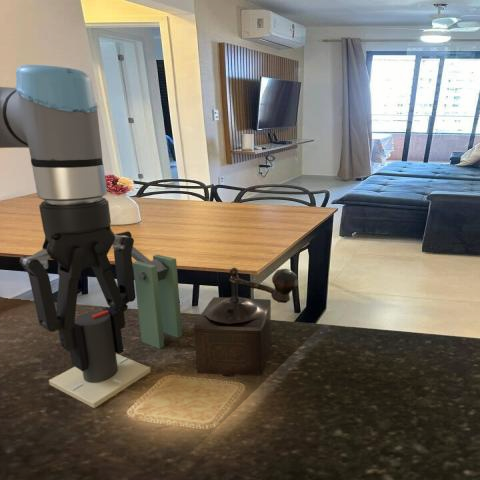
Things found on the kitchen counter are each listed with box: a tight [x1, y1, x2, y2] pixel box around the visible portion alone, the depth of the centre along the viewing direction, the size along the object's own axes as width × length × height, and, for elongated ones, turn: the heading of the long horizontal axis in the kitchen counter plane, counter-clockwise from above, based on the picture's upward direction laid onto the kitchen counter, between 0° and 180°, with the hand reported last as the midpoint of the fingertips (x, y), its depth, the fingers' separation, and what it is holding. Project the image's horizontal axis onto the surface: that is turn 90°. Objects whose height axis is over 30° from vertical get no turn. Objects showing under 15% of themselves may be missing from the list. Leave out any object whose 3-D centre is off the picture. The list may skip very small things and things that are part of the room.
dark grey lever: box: [114, 230, 168, 281], centre depth 65 cm, size 12×5×2 cm, turn 61°
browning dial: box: [75, 310, 118, 383], centre depth 55 cm, size 4×4×9 cm
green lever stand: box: [132, 253, 183, 350], centre depth 65 cm, size 10×9×16 cm
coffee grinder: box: [193, 267, 299, 378], centre depth 60 cm, size 16×11×18 cm
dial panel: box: [48, 353, 152, 409], centre depth 56 cm, size 10×9×2 cm
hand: (98, 357), depth 55 cm, fingers closed on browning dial, 4 cm apart
